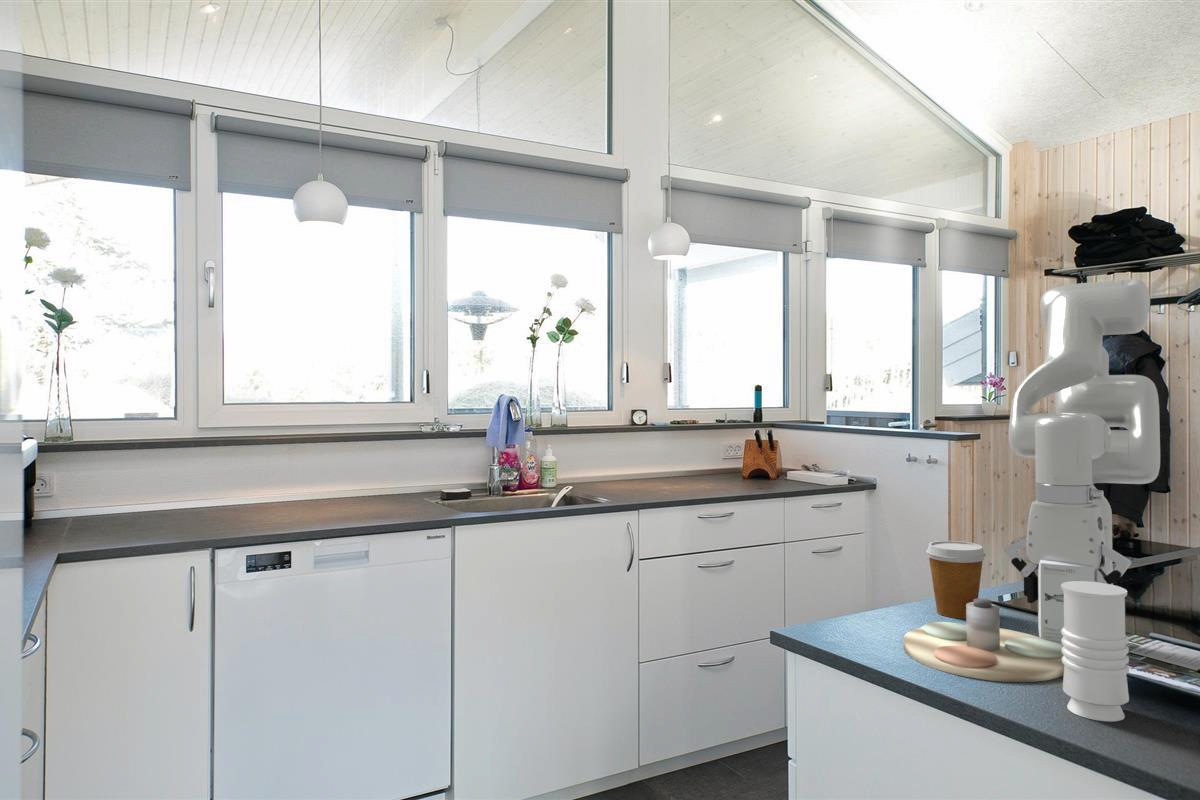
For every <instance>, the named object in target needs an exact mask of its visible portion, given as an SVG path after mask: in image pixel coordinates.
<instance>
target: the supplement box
mask: <svg viewBox="0 0 1200 800" xmlns="http://www.w3.org/2000/svg"><path fill="white" fill-rule="evenodd" d="M1037 576H1038V600H1037V615H1038V616H1037V619H1038V620H1037V623H1038V624H1037V625H1038V626H1037V627H1038V635H1039V636H1038V637H1039V638H1042V639H1045V640H1047V641H1051V642H1055V643H1058V644H1060V645H1062V643H1061V639H1062V638H1063V635H1062V633H1061V630H1062V628H1063V627H1064V591H1063V590H1062V588H1061V584H1062V583H1064V582H1070V581H1089V582H1095V567H1091V566H1085V565H1078V564H1071V563H1064V562H1057V561H1048V560H1040V561H1039V566H1038V569H1037Z"/></svg>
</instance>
